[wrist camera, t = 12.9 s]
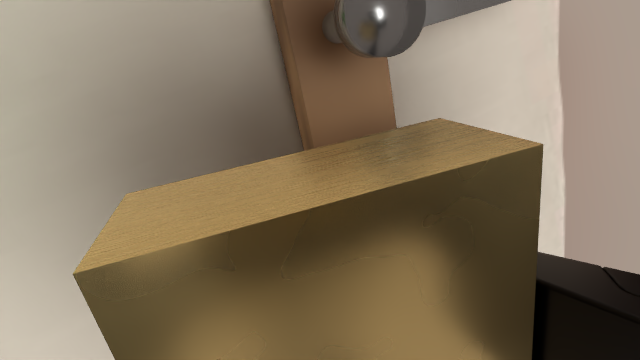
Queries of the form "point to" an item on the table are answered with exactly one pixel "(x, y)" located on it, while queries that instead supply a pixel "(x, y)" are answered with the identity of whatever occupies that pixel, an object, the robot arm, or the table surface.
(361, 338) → the gold metal plate
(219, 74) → the table surface
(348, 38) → the lever
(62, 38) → the table surface
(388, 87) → the body
